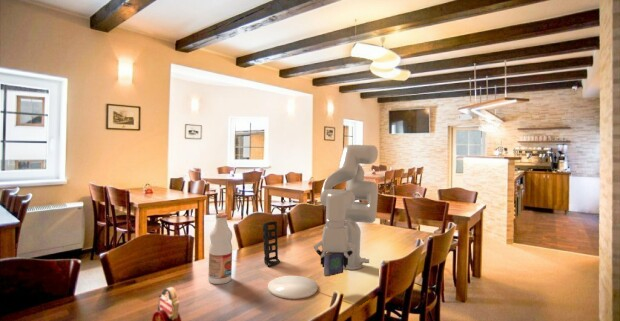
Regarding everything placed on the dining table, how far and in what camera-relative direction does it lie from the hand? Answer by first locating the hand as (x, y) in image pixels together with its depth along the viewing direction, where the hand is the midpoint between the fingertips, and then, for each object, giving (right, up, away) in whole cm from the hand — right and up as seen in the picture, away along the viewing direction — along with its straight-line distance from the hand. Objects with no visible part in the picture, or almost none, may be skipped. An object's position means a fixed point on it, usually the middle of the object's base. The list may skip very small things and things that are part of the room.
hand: (334, 266), depth 132 cm
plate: (-17, -9, +1) cm, 19 cm away
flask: (0, -3, 0) cm, 3 cm away
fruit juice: (-48, -8, +7) cm, 49 cm away
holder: (-29, -8, +29) cm, 42 cm away
